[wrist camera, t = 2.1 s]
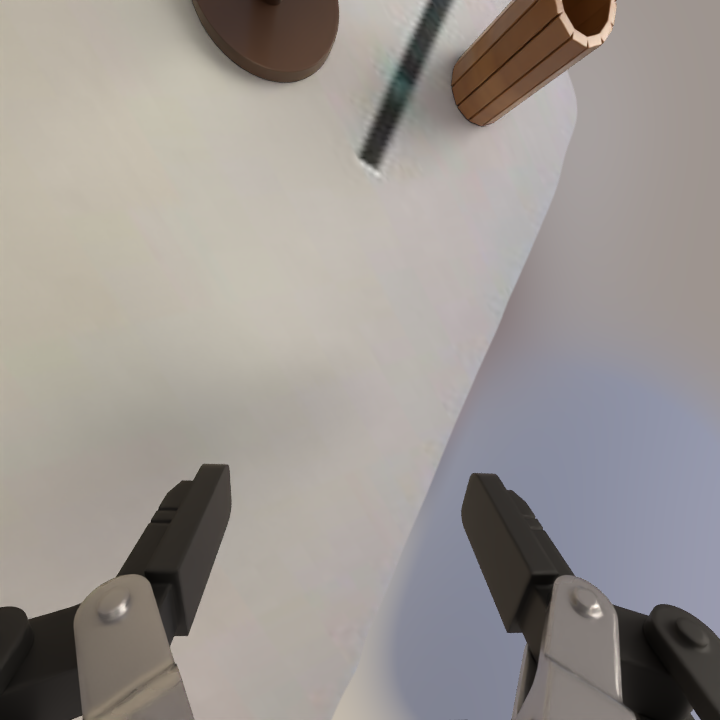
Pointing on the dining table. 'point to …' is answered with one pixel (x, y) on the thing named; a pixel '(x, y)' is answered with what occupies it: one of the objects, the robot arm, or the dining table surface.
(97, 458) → the dining table surface
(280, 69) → the peg stand
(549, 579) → the robot arm
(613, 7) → the wooden stave pot
